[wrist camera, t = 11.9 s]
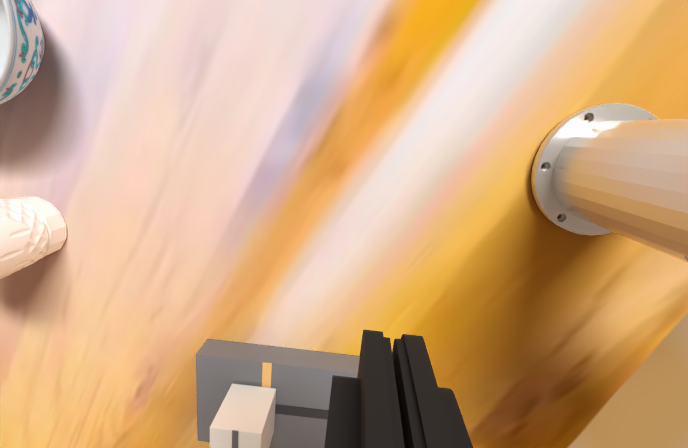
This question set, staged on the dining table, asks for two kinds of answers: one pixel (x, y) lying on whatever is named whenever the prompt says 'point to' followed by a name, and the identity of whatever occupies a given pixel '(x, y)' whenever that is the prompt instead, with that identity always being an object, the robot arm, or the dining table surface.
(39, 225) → the white cup
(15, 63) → the chinaware
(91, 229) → the dining table surface
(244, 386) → the fader tab
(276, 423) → the board
